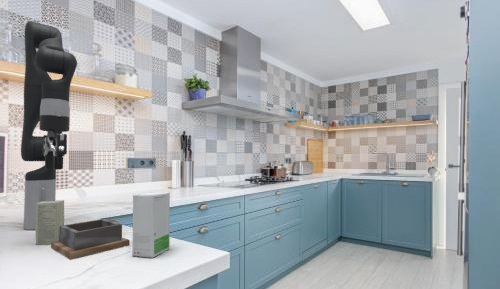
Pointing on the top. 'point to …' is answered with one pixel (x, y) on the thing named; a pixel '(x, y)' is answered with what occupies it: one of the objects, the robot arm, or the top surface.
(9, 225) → the top surface
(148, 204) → the skincare box
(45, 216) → the skincare box
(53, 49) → the robot arm
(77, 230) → the sleeve holder
